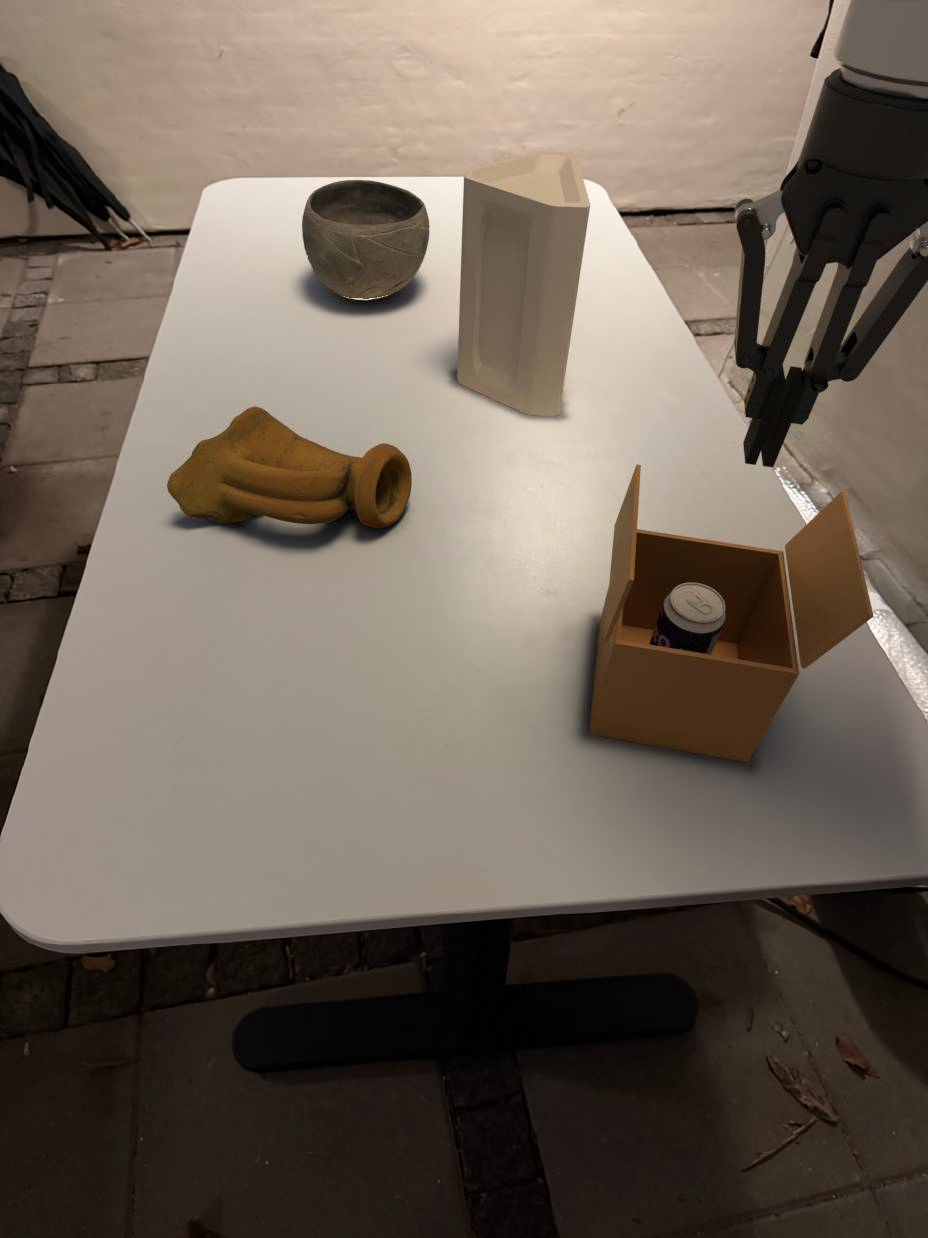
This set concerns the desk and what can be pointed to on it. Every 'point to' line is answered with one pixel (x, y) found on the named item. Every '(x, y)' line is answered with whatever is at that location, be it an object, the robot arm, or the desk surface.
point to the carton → (683, 680)
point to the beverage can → (690, 619)
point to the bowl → (365, 237)
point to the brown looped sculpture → (288, 477)
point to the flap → (826, 581)
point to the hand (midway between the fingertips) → (758, 454)
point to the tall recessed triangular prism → (520, 277)
